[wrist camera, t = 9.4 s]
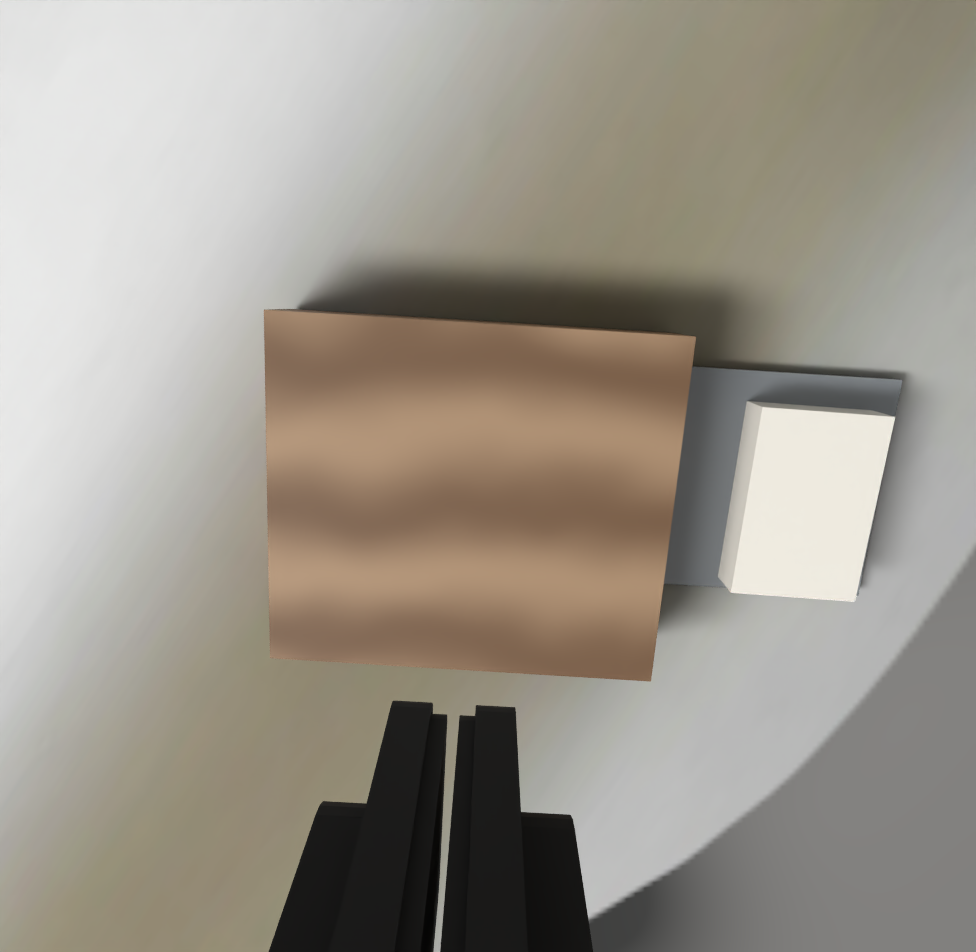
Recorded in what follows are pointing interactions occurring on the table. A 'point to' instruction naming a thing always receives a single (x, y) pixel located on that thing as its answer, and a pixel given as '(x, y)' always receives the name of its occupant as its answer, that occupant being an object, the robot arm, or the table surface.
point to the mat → (717, 445)
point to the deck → (470, 491)
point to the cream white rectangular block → (803, 500)
